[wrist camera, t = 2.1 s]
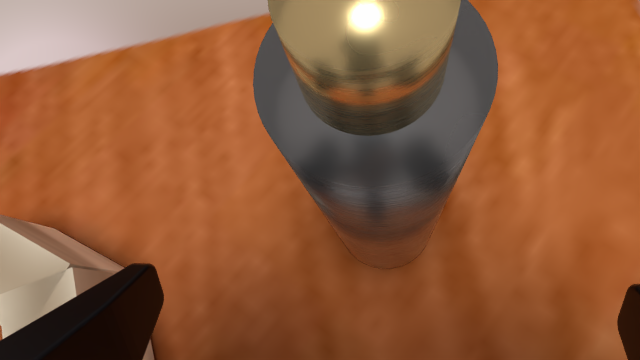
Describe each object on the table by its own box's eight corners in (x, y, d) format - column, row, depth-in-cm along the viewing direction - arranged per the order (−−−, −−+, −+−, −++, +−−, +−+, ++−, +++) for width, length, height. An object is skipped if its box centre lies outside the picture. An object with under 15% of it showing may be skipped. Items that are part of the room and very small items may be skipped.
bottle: (446, 249, 19) (605, 54, 5) (357, 281, 19) (255, 186, 5) (410, 166, 20) (449, -183, 6) (327, 197, 20) (177, -71, 6)
